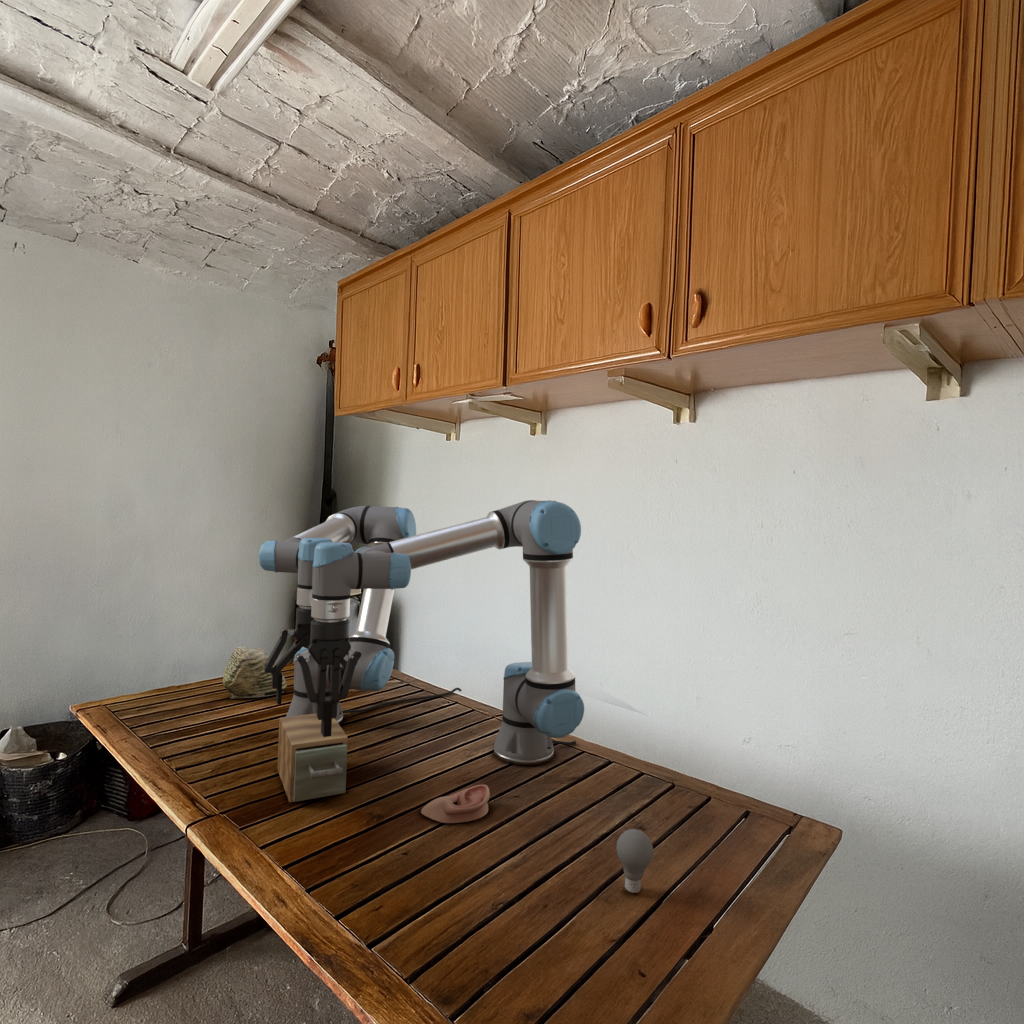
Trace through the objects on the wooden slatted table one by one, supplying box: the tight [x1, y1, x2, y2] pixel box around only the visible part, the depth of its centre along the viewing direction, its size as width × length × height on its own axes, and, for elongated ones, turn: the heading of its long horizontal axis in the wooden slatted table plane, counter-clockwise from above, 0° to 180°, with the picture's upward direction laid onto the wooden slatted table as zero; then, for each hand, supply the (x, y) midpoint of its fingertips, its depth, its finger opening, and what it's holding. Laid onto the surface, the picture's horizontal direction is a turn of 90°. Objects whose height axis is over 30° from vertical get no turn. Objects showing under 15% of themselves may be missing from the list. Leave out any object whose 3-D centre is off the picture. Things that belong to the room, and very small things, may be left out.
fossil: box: [222, 646, 288, 699], centre depth 198 cm, size 9×18×15 cm, turn 132°
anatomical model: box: [420, 784, 491, 824], centre depth 130 cm, size 13×4×12 cm
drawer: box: [293, 743, 348, 803], centre depth 136 cm, size 21×10×10 cm, turn 28°
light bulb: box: [615, 828, 654, 894], centre depth 106 cm, size 6×6×10 cm
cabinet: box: [277, 714, 349, 804], centre depth 141 cm, size 17×12×12 cm
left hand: (310, 699), depth 144 cm, fingers open, 13 cm apart
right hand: (326, 734), depth 129 cm, fingers closed
